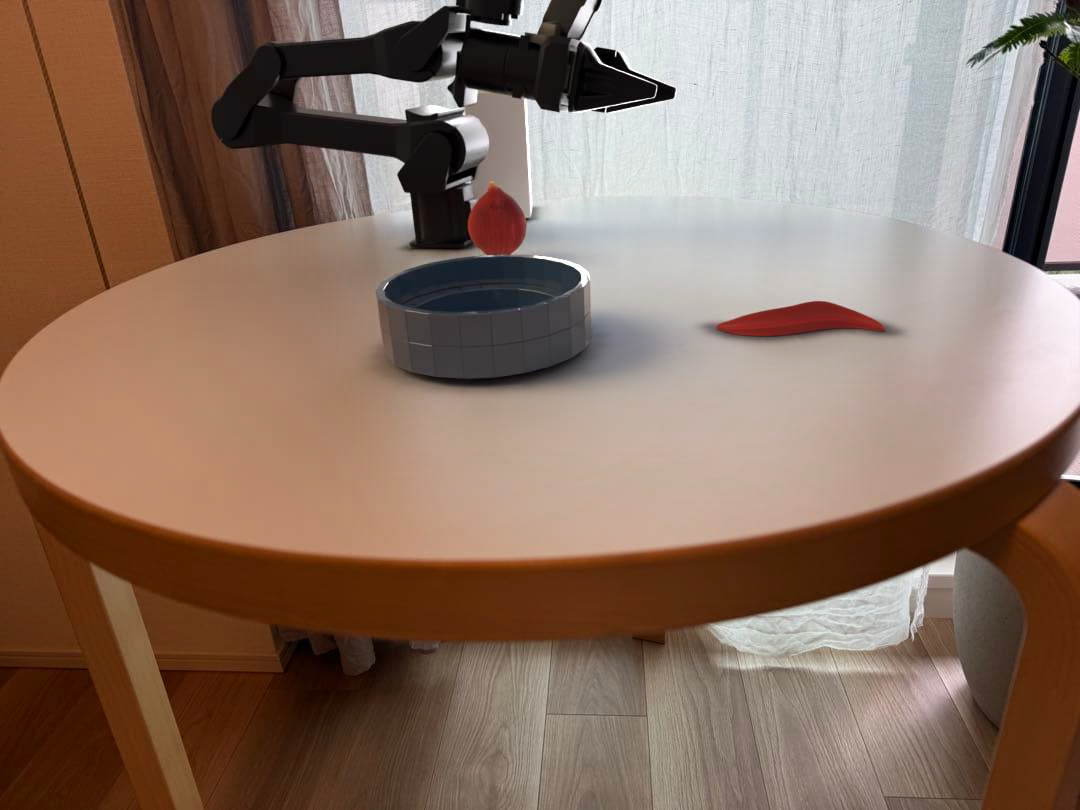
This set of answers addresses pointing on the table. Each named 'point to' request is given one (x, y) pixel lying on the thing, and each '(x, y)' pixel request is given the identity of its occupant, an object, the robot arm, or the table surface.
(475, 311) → the bowl
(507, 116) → the milk carton
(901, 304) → the table surface
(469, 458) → the table surface
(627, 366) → the table surface
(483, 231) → the onion
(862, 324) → the cayenne pepper
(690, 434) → the table surface
